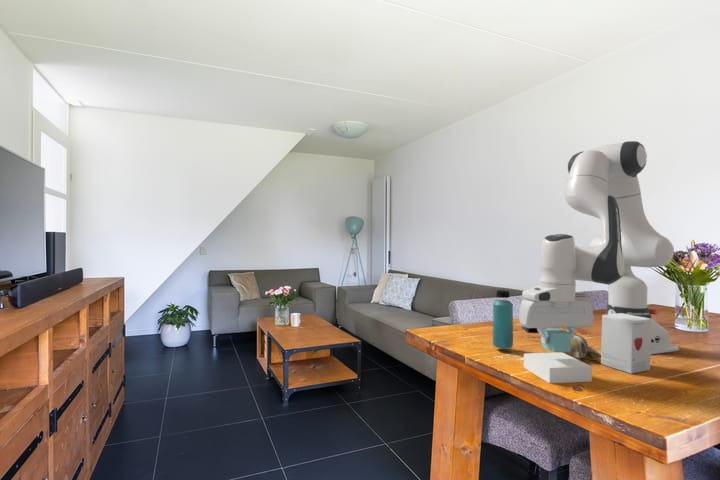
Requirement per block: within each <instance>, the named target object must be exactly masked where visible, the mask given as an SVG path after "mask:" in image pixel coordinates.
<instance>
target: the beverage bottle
mask: <svg viewBox="0 0 720 480" xmlns="http://www.w3.org/2000/svg"><path fill="white" fill-rule="evenodd" d="M495 296H496V298H502V299H496V300H495V301H494V302H493V303H492V306H493V307H492V310H493V311H492V345H493V347H495V348H498V349H506V350H507V349H512V348H513V346H514V316H513V315H514V313H513V312H514V311H513V310H514V309H513V308H514V307H513V306H514V304H513V303H512V302H511V301H510V300H505V299H508V298H510V291H509V290H502V289H500V290H496V295H495ZM503 298H504V299H503Z"/></svg>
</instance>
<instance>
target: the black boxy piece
mask: <svg viewBox="0 0 720 480" xmlns="http://www.w3.org/2000/svg"><path fill="white" fill-rule="evenodd" d="M521 327H522V328H521V329H522V330H524V331H525V332H527V333H529V334H539V332H538V330H537V328H527V327H524V326H521Z"/></svg>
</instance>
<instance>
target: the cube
mask: <svg viewBox="0 0 720 480" xmlns="http://www.w3.org/2000/svg"><path fill="white" fill-rule="evenodd" d="M544 332H545V331H544ZM545 334H546V336H547V337H549V338H550V343H549V344H543V343H542V342H541V344H542V348H544V349H546V350H549V351H551V352H552V353H556V352H569V351H571V333H569V332H567V331H566V330H564V329H562V328H547V329H546V332H545Z"/></svg>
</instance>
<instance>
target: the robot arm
mask: <svg viewBox="0 0 720 480" xmlns="http://www.w3.org/2000/svg"><path fill="white" fill-rule="evenodd" d="M647 155H648V154H647V152H646V148H645V146H644V145H643V144H642V143H640V142H639V141H637V140H636V141H635V140H634V141H631V140H629V141H624V142H620V143H619V142H617V143H612V144H611V143H610V144H605V145H602V146H599V147H595V148H591V149H589V150H585V151H583V150H582V151H580V152H577V153H575V154H573V155H572V156H571V157H570V159H569V161H568V162H567V172H568V176H567V180H566V184H565V188H564V198H565V201H566V202H567V204H568V205H569V206H570V208H572V209H573V210H576V211H577V212H579V213H581V214H585V215H587V216H592V217H594V218H597V219H599V220H600V222H601V235H600V236H596V237H594V238H592V240H591V242H590V244H589V246H576V243H575V238H574V236H572V234H571V235H570V234H566V233H565V234H564V233H563V234H562V233H561V234H560V233H558V234H550V235H547V236H545V237H544V238H543V240H542V244H541V247H540V257H539V267H540V272H541V273H540V274H541V275H540V277H539V284H538V285H535V286H532V287H530V288H528V289H525V290H523V291H522V294H521V295H522V298H523V300H522V301H521V303H520V307H519V316H518V317H519V318H518V319H519V323H520V325H521V327H527V328H537V330H538V332H539V333H538V334H539V336H540V342H541V344H542V343H543V344H549V343H550V338H549V337H547V336H546V334H545V332H546V329H559V328H565V329H566V330H567V332H569V333H571V337H572V336H573V335H574V333H575V334H576V330H577V328H590V327H592V326H593V325H594V323H595V322H594V310H593V305H592V303H593V302H592V301H593V299H592V297H591V296H590V295H589V294H588V293H586V292H580V293H579V292H576V286H577V285H576V283H577V282H576V281H582V282H590V283H591V282H593V283H597V284H603V285H607V291H608V303H607V304H606V315H607V314H617V313H624V314H629V315H634V316H639V317H645V318H650V319H651V350H650V355H657V354H664V353H672V352H673V353H674V352H680V348H679V347H678V346H677V345H675V344H672V343H671V336H670V332H669V331H668V330H667V329H666V328H665V327H663V326H661V324H659V323H658V322H657V321H656V320H654V319H653V317H652V315H654V316H658V314H659V309H656V308H652V307H651V308H649V307H648V286H647V284H646V283H645V281H644V280H642V279H641V278H639V277H637V276H636V275H635V274H634V272H633V271H632V267H636V268H637V267H638V268H658V267H666V265H668V264H669V263H671V261H672V260H673V257H674V255H675V254H674V253H675V249H674V245H673V243H672V242H671V240H670V239H668V237H665V236H664V235H662V234H661V233H660V232H658V231H657V230H656V229H655V228H654V227H653V226H652V224H650V223H649V221H648V219H647V217H646V214H645V210H644V204H643V199H642V193H641V186H640V182H639V179H638V174H640V173H642V171H643V170H644V169H645V167H646V165H647V158H648V156H647ZM544 331H545V332H544Z"/></svg>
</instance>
